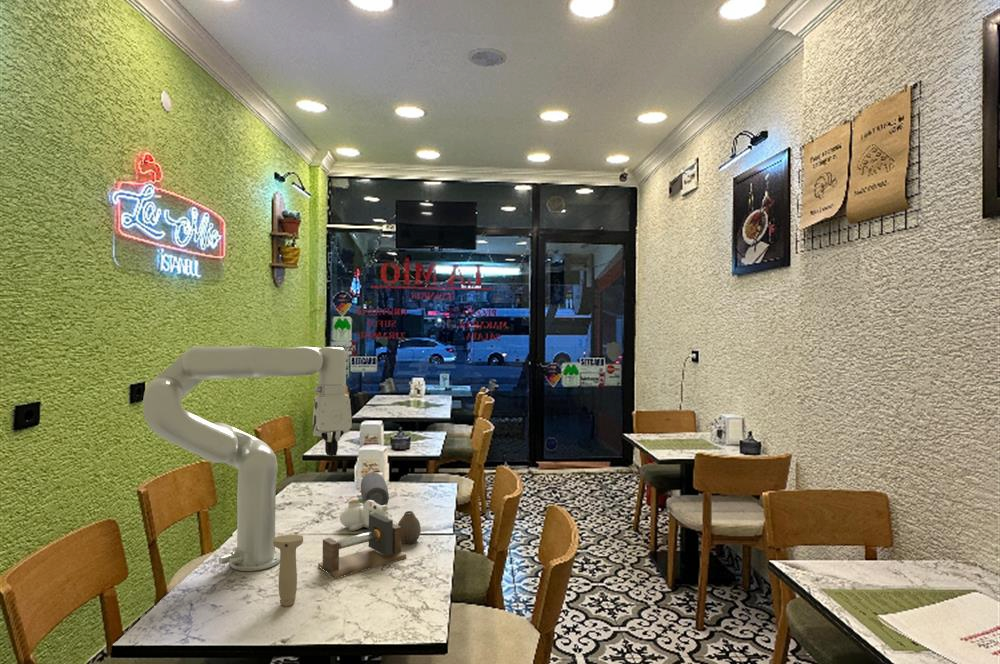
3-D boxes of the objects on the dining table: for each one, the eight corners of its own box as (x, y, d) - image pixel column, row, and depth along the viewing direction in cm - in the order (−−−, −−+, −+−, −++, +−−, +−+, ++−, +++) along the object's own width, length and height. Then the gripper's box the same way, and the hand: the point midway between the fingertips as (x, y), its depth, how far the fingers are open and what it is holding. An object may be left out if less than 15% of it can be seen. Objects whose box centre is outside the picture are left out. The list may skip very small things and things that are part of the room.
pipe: (335, 553, 156) (335, 541, 156) (329, 550, 158) (329, 539, 158) (394, 537, 168) (394, 527, 168) (388, 534, 170) (389, 524, 170)
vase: (415, 546, 176) (416, 516, 175) (393, 544, 177) (393, 514, 177) (423, 538, 182) (423, 509, 182) (401, 536, 184) (402, 508, 184)
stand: (336, 578, 152) (336, 547, 152) (318, 566, 160) (318, 536, 160) (406, 557, 167) (406, 529, 167) (386, 548, 174) (386, 520, 174)
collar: (385, 555, 163) (386, 522, 163) (368, 546, 169) (368, 514, 169) (392, 553, 164) (392, 520, 164) (374, 544, 171) (375, 513, 171)
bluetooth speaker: (359, 497, 225) (359, 471, 225) (384, 496, 228) (385, 469, 228) (362, 516, 203) (362, 486, 203) (390, 514, 206) (390, 484, 206)
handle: (275, 600, 140) (275, 535, 140) (304, 598, 141) (304, 534, 141) (270, 609, 135) (271, 542, 135) (300, 608, 136) (301, 541, 136)
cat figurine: (337, 499, 190) (385, 492, 192) (341, 506, 197) (387, 499, 199) (338, 530, 185) (387, 523, 187) (342, 536, 192) (390, 529, 194)
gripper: (313, 393, 164) (312, 461, 164) (362, 389, 174) (361, 453, 174) (301, 391, 169) (300, 456, 169) (349, 387, 179) (348, 449, 179)
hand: (331, 455), depth 172 cm, fingers closed
